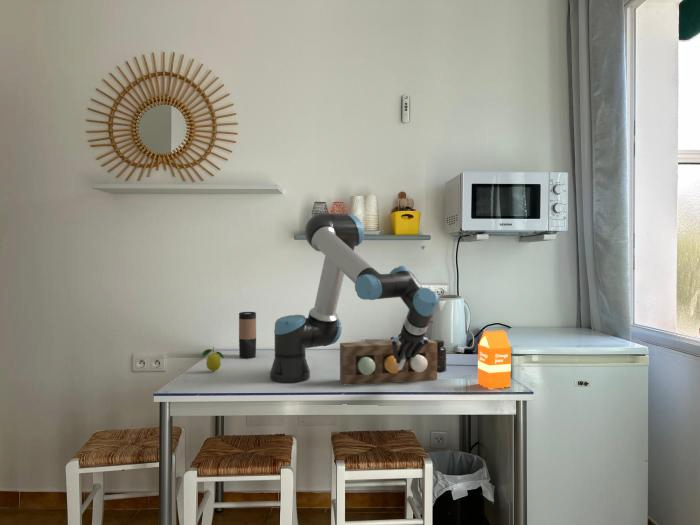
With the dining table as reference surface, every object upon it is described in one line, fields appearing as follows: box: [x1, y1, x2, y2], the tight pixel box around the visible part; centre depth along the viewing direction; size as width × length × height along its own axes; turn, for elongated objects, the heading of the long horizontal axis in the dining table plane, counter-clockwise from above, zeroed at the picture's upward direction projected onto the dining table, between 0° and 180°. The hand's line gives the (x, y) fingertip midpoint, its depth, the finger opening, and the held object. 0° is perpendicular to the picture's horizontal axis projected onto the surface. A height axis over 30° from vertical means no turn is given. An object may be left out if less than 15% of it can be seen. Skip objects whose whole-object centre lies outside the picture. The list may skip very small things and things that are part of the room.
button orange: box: [384, 355, 400, 374], centre depth 188 cm, size 6×3×6 cm, turn 103°
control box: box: [339, 339, 438, 385], centre depth 193 cm, size 36×7×14 cm, turn 103°
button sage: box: [357, 357, 375, 375], centre depth 186 cm, size 6×3×6 cm, turn 103°
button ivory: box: [410, 354, 428, 372], centre depth 191 cm, size 6×3×6 cm, turn 103°
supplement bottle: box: [432, 339, 447, 373], centre depth 209 cm, size 7×7×12 cm
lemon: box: [201, 346, 225, 373], centre depth 204 cm, size 7×6×10 cm
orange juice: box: [477, 330, 512, 390], centre depth 186 cm, size 8×9×20 cm
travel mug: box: [238, 311, 257, 360], centre depth 231 cm, size 8×8×20 cm
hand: (398, 366), depth 182 cm, fingers closed
